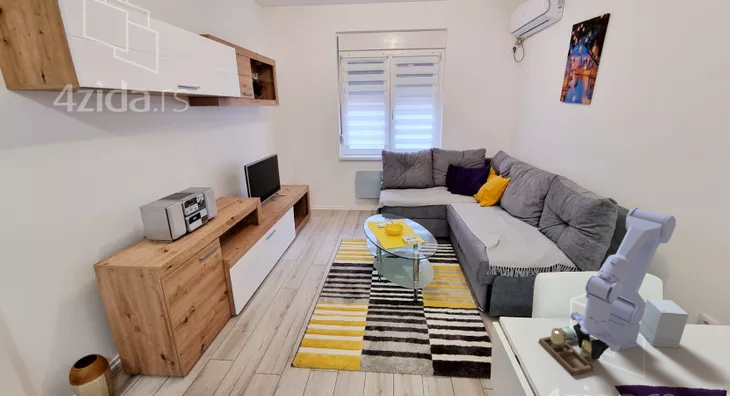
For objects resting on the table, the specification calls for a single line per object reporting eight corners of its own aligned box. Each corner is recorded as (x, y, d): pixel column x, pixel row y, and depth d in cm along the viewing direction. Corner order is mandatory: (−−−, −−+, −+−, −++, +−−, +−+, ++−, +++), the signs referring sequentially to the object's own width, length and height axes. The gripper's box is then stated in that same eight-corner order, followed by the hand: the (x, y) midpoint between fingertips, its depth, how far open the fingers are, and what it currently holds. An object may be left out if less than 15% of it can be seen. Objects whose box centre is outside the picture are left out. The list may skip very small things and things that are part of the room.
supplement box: (679, 348, 99) (690, 314, 95) (651, 346, 100) (661, 312, 96) (663, 332, 106) (672, 300, 102) (637, 329, 107) (646, 297, 103)
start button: (567, 331, 107) (568, 326, 106) (576, 338, 103) (577, 333, 103) (557, 333, 106) (558, 328, 105) (566, 341, 103) (567, 336, 102)
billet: (587, 350, 99) (590, 335, 97) (599, 360, 95) (602, 344, 93) (576, 353, 98) (579, 337, 96) (587, 363, 94) (591, 347, 93)
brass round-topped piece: (557, 342, 102) (559, 327, 101) (566, 351, 99) (570, 335, 97) (546, 344, 102) (548, 329, 100) (555, 354, 98) (558, 338, 96)
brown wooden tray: (557, 338, 105) (558, 334, 104) (594, 372, 92) (595, 367, 91) (537, 343, 103) (537, 338, 103) (571, 378, 90) (572, 372, 90)
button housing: (567, 330, 108) (567, 326, 108) (581, 342, 103) (582, 339, 102) (551, 333, 107) (552, 329, 107) (566, 346, 101) (566, 342, 101)
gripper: (565, 302, 98) (558, 338, 102) (608, 335, 84) (599, 374, 89) (584, 298, 99) (577, 334, 104) (630, 330, 86) (619, 369, 90)
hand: (588, 352), depth 96 cm, fingers closed on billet, 4 cm apart
